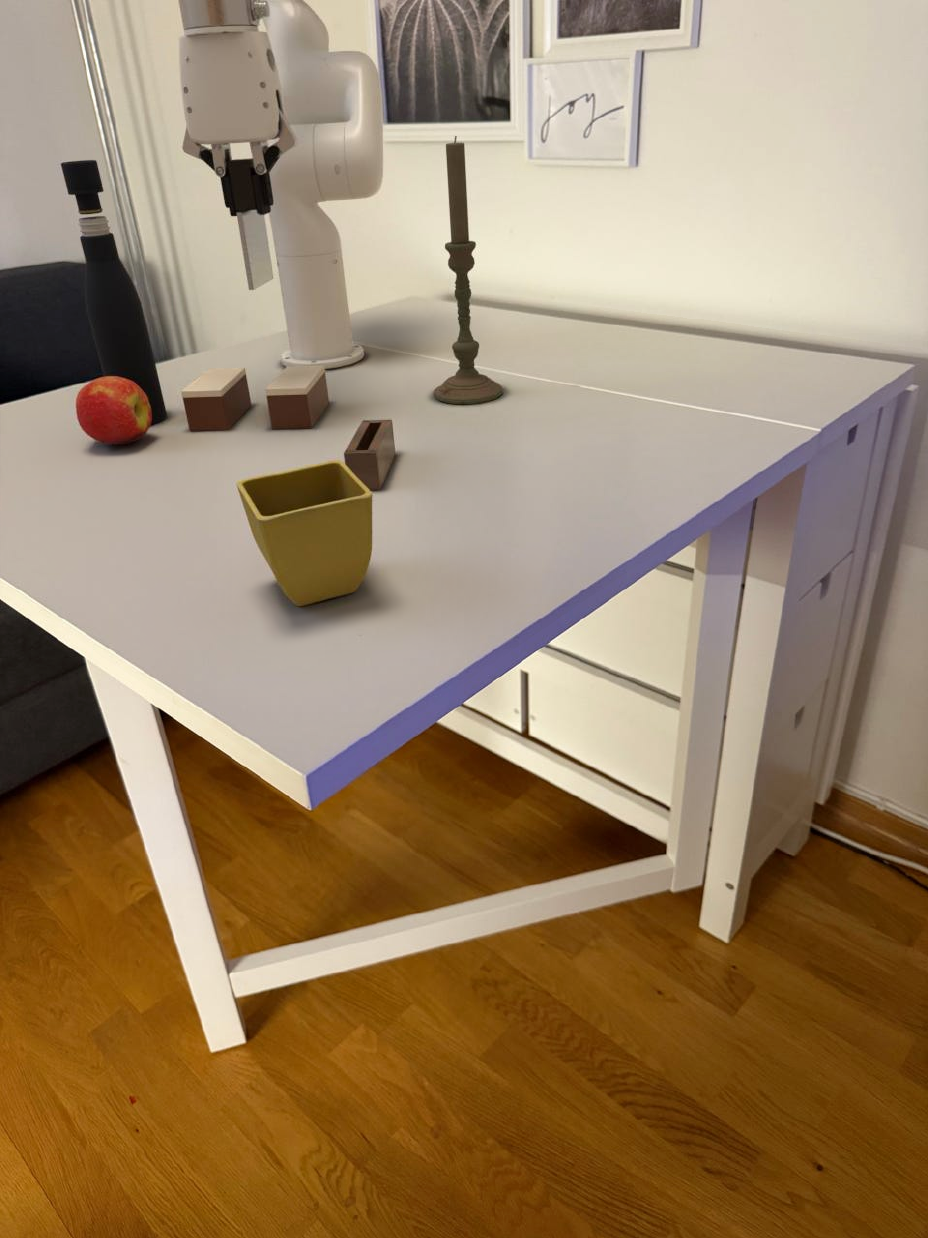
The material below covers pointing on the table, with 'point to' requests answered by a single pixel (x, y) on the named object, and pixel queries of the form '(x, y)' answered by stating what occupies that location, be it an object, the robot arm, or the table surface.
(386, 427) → the knife block
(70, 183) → the wine bottle
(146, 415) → the apple
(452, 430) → the table surface
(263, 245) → the knife
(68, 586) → the table surface
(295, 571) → the flower pot
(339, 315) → the robot arm
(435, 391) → the candlestick holder
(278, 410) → the cake slice
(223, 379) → the cake
